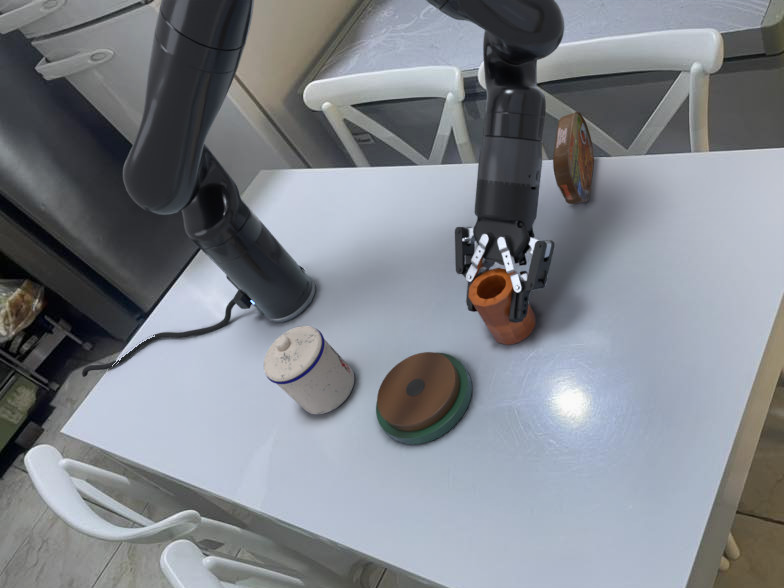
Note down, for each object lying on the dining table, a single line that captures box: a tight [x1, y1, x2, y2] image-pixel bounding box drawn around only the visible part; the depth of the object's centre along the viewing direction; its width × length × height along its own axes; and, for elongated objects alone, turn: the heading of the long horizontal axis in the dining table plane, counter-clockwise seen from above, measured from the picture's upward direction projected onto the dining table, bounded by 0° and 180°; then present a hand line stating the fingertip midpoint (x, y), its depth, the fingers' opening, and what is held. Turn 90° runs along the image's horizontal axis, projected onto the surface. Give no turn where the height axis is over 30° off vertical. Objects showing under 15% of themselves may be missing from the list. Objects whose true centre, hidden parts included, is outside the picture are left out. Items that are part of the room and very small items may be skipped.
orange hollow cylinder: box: [468, 267, 536, 346], centre depth 89 cm, size 6×6×8 cm
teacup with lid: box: [263, 325, 355, 415], centre depth 95 cm, size 12×9×12 cm
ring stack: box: [375, 351, 473, 445], centre depth 89 cm, size 13×13×3 cm
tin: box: [552, 111, 595, 205], centre depth 101 cm, size 15×3×8 cm, turn 168°
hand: (495, 315), depth 88 cm, fingers closed on orange hollow cylinder, 6 cm apart
